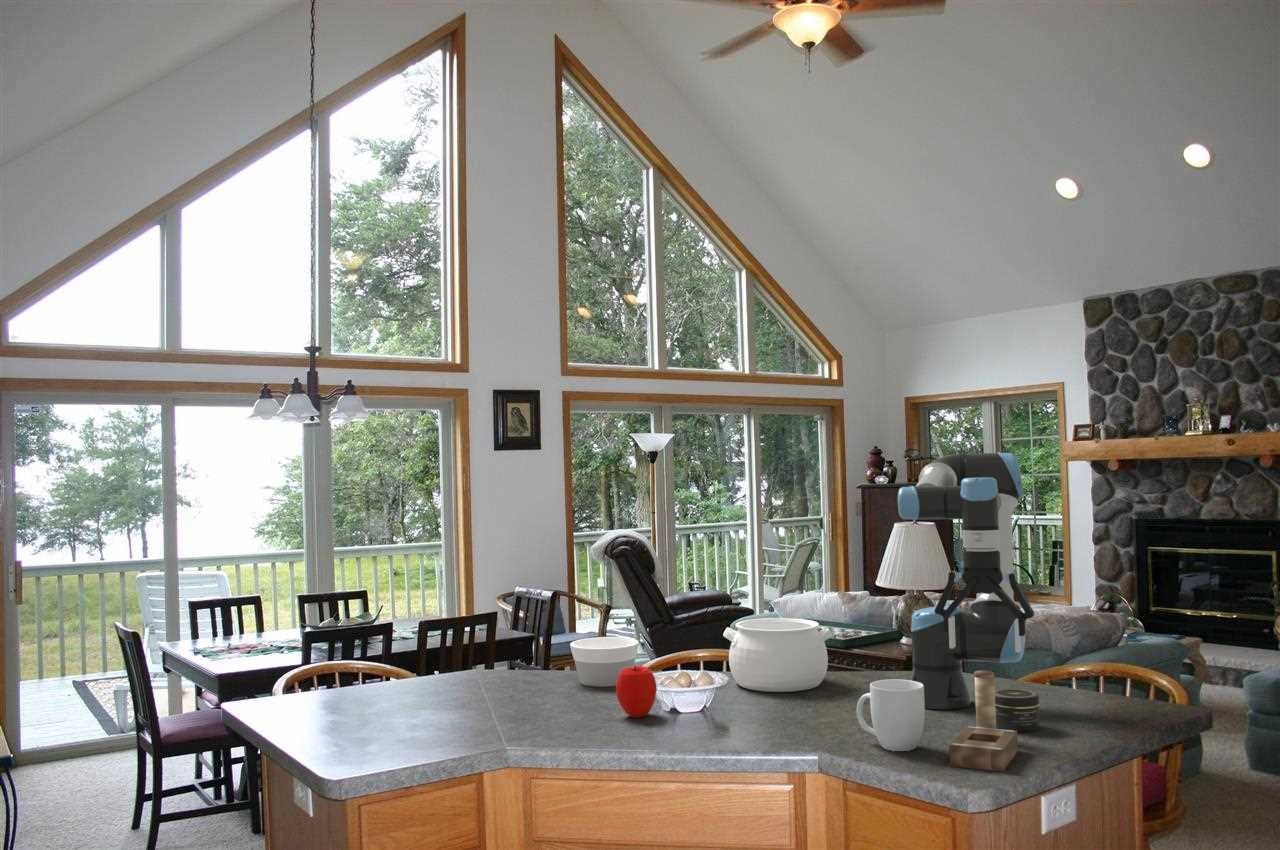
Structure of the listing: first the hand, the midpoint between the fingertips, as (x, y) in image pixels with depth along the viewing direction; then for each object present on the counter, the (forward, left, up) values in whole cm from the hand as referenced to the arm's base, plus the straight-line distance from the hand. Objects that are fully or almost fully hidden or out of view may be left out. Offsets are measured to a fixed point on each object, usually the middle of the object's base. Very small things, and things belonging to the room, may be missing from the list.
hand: (985, 649), depth 228 cm
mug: (-16, -14, -19) cm, 29 cm away
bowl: (-107, +21, -19) cm, 111 cm away
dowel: (0, 0, -19) cm, 19 cm away
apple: (-79, -11, -19) cm, 82 cm away
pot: (-61, +35, -19) cm, 73 cm away
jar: (+4, +12, -19) cm, 23 cm away
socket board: (+2, -15, -19) cm, 24 cm away
